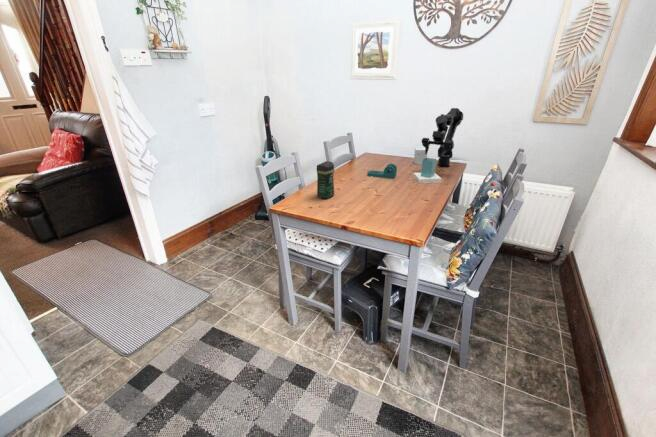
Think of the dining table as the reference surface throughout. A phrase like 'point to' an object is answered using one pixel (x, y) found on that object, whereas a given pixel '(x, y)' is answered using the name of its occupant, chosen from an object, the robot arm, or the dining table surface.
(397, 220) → the dining table surface
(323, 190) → the coffee jar
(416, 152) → the small box
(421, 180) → the riser block
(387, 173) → the bracket
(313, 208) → the dining table surface
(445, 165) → the robot arm
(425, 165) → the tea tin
